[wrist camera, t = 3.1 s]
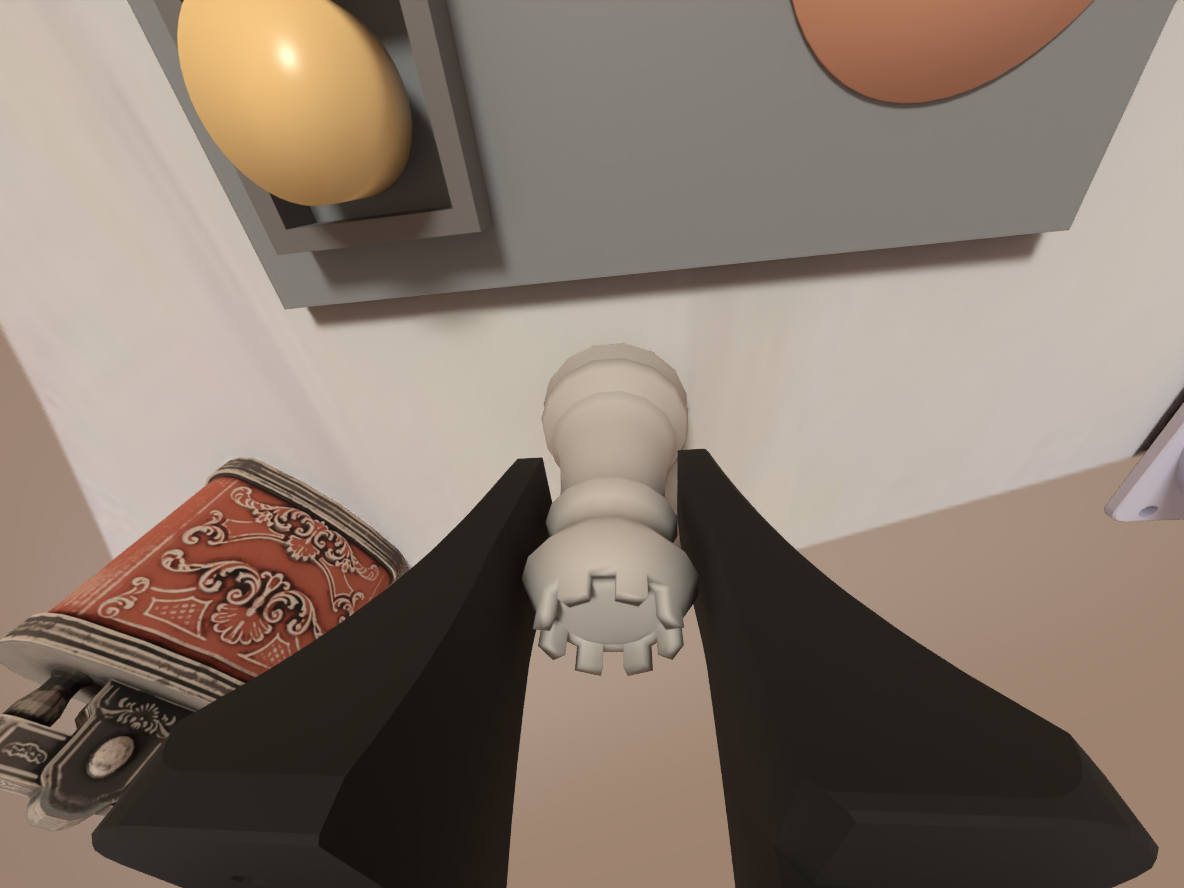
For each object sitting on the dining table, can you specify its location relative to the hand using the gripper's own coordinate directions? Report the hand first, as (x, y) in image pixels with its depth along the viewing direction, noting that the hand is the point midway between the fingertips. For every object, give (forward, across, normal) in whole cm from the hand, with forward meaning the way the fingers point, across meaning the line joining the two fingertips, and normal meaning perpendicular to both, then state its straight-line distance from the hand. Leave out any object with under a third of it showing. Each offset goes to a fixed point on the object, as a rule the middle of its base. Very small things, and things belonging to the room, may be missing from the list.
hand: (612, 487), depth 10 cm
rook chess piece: (+4, 0, 0) cm, 4 cm away
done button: (+3, +5, -8) cm, 10 cm away
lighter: (+5, +13, +5) cm, 15 cm away
